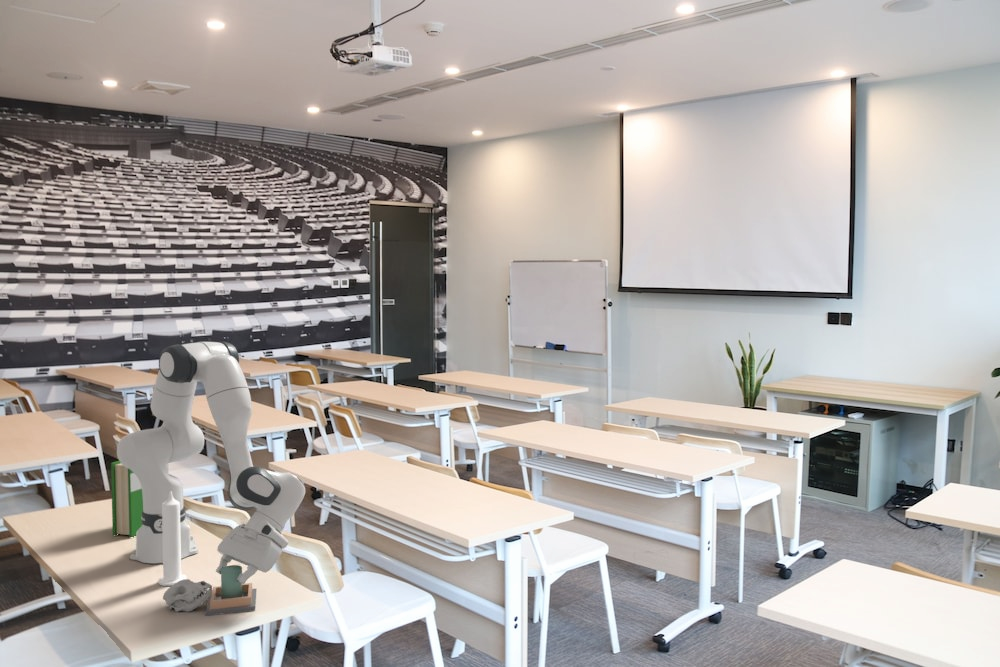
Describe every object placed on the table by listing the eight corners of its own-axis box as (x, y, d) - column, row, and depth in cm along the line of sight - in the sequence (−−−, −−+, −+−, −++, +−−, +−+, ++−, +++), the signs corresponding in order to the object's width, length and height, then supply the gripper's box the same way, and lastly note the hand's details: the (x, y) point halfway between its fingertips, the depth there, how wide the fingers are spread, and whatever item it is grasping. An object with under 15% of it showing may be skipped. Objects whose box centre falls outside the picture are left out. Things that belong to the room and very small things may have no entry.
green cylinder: (222, 596, 192) (221, 566, 191) (242, 594, 193) (242, 564, 193) (220, 604, 187) (220, 573, 187) (241, 602, 188) (241, 571, 188)
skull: (172, 589, 193) (203, 560, 191) (192, 617, 191) (223, 588, 189) (151, 599, 185) (183, 569, 183) (172, 628, 184) (204, 598, 182)
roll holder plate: (209, 597, 194) (209, 585, 194) (256, 592, 197) (256, 581, 197) (205, 615, 183) (205, 603, 183) (255, 610, 186) (255, 598, 186)
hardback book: (131, 538, 240) (130, 464, 239) (112, 536, 242) (110, 463, 241) (169, 521, 257) (168, 453, 256) (151, 520, 259) (149, 451, 258)
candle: (176, 587, 200) (174, 495, 199) (152, 585, 202) (150, 494, 200) (191, 577, 207) (190, 488, 206) (169, 575, 209) (167, 487, 207)
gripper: (232, 516, 201) (199, 562, 194) (277, 532, 188) (243, 581, 181) (247, 528, 205) (215, 574, 198) (292, 544, 192) (260, 593, 185)
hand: (229, 577), depth 189 cm, fingers open, 8 cm apart
